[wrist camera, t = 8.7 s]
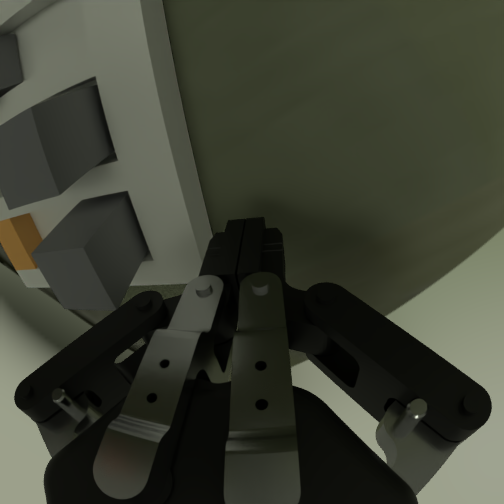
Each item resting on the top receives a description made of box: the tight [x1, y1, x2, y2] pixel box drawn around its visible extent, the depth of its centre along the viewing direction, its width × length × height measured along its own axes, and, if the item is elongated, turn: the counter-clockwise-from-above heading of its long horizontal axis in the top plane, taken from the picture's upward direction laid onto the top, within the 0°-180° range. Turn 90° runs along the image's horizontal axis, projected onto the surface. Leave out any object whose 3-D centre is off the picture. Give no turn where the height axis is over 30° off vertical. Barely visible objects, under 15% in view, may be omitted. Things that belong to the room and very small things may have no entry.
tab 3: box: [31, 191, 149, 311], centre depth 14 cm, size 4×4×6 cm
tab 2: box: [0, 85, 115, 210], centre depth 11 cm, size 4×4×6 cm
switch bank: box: [0, 0, 213, 288], centre depth 13 cm, size 16×20×3 cm
